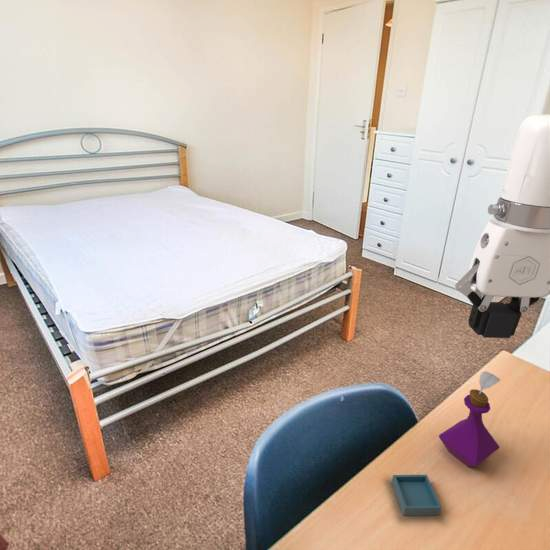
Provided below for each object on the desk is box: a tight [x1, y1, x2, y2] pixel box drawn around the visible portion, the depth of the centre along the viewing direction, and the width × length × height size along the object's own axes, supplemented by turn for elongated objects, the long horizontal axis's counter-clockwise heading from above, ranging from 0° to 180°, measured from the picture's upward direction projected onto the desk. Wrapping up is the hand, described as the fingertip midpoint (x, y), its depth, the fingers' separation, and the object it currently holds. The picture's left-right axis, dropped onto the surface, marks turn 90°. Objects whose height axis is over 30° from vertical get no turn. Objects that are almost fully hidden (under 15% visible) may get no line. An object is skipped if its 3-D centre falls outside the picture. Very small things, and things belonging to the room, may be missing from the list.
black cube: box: [481, 301, 518, 339], centre depth 58 cm, size 4×4×4 cm
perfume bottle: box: [438, 370, 501, 468], centre depth 67 cm, size 8×8×18 cm
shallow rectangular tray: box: [391, 474, 442, 517], centre depth 62 cm, size 6×6×2 cm
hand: (490, 329), depth 58 cm, fingers closed on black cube, 4 cm apart
